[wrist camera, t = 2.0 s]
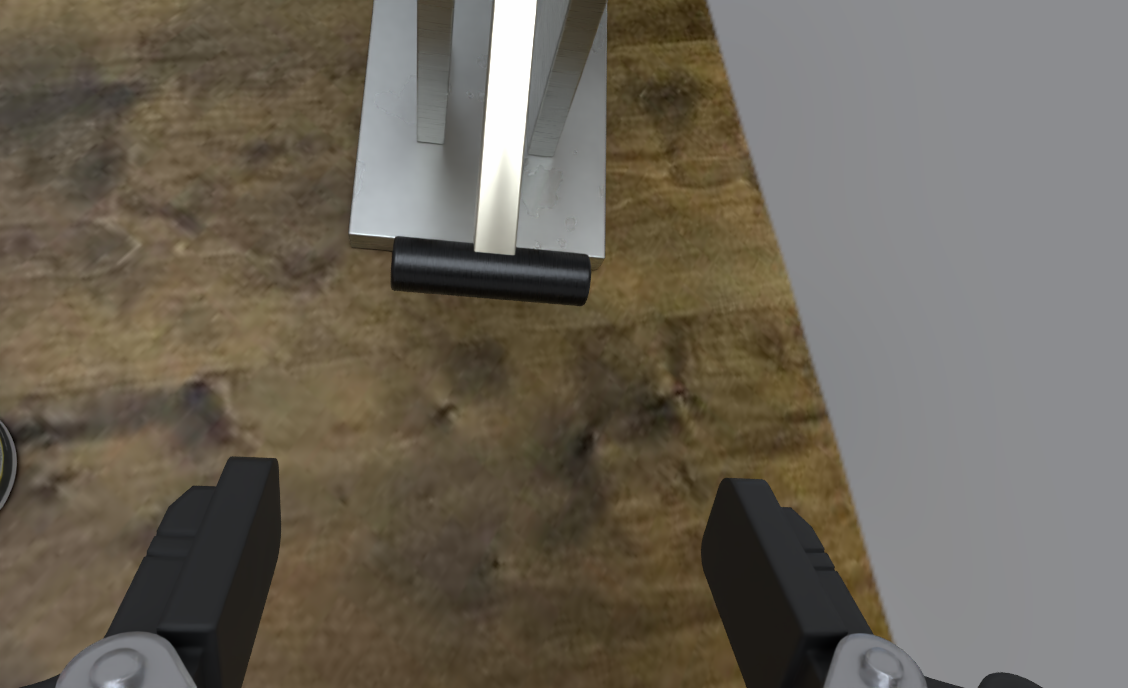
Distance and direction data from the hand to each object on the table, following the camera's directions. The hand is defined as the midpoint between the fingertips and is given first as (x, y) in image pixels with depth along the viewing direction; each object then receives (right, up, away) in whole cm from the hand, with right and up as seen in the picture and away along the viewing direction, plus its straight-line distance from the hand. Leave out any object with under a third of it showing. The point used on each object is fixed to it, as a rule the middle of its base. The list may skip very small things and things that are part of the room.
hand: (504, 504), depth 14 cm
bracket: (-2, +12, +15) cm, 20 cm away
